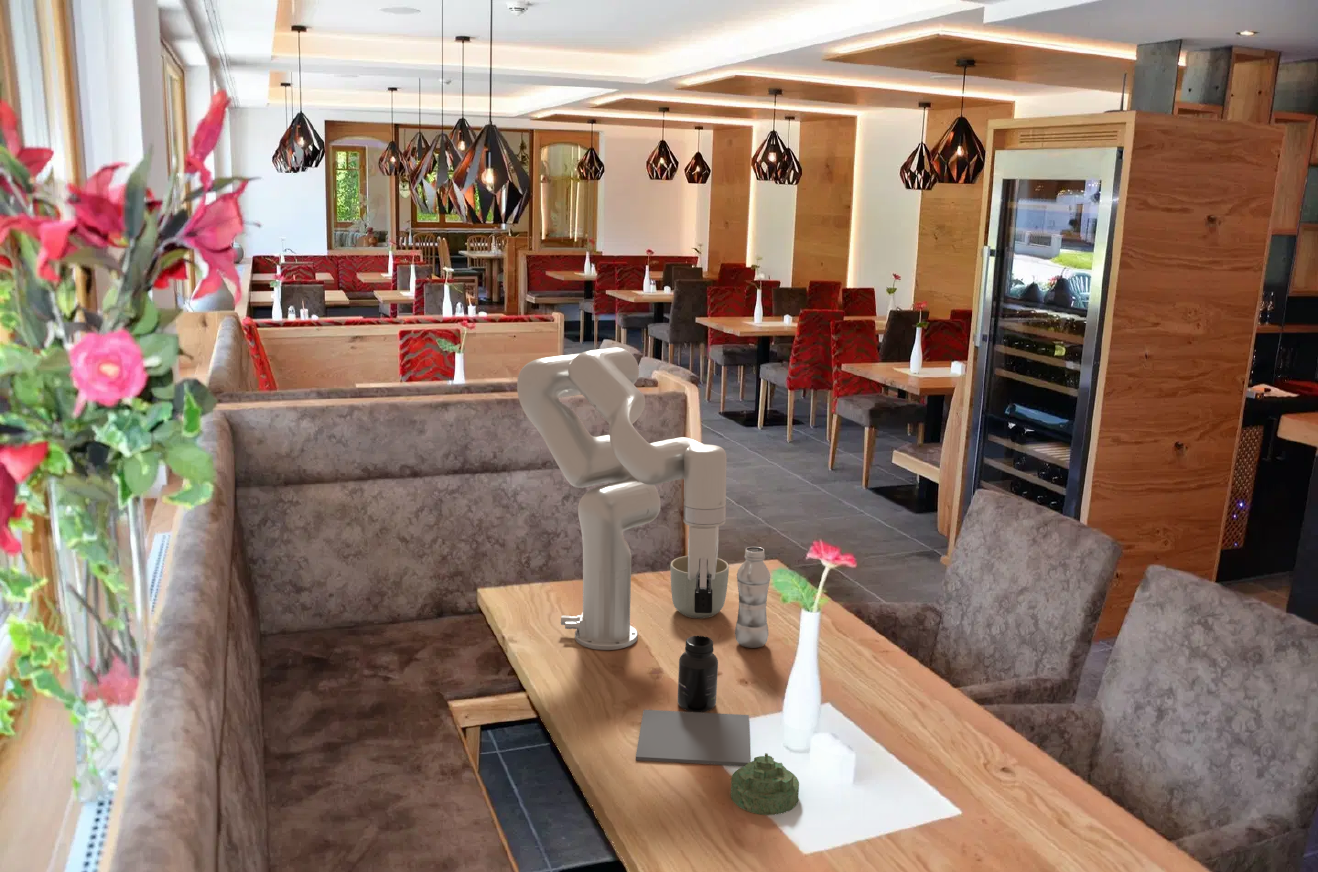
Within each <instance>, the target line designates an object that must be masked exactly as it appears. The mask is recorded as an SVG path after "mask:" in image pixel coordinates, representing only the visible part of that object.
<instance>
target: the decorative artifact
mask: <svg viewBox="0 0 1318 872" xmlns="http://www.w3.org/2000/svg"><path fill="white" fill-rule="evenodd" d="M774 759H775V758H774V757H773V756H771V755H769V753H768V752H765V753H764V755H759V756H756V757H754V758H753V760H752V761H750V762H749V763H748V764H746V765H745V766H740V767H739V768H737V769H736V770H735V771H734V772H733V773H732V775H731V778H730V779H731V782H730V798H731V800H732V802H733V803H734V804H735V805H736V806H737V807H739V808H740V809H743V810H744V811H747V812H749V813H753V814H756V815H763V816H764V815H765V816H775V814H776V815H780V814H781V813H782V814H785V813H787V812H786V811H788V812H790V811H791V810H793V809H794V808H795V807H796V806H797V804H798V803H799V791H800V782H799V779H798V777H797V776H796V775H795V774H794V773H793V772H792V771H790V770H788V769H787V768H786V767H785V766H784V765H783V763H782V762H777V761H775V760H774ZM797 802H798V803H797ZM784 812H785V813H784Z"/></svg>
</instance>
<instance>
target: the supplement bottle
mask: <svg viewBox="0 0 1318 872" xmlns="http://www.w3.org/2000/svg"><path fill="white" fill-rule="evenodd" d="M714 650H715V649H714V640H713V639H712V638H711V637H709V636H706V635H705V636H704V635H692V636H688V637H687V638H686V640H685V647H684V652H683V653H682V654H681V655H680V657H679V661H678V674H677V675H678V679H677V680H678V681H677V704H678V706H679V707H680V708H682V709H683V710H684V711H686V712H701V713H707V712H709V711H711V710H713V709H714V708H715V707H716V704H717V696H718V695H717V693H718V691H717V690H718V676H719V675H718V672H719V660H718V658H717V656H716V655H715V653H714Z"/></svg>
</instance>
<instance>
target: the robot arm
mask: <svg viewBox="0 0 1318 872" xmlns="http://www.w3.org/2000/svg"><path fill="white" fill-rule="evenodd" d="M639 375H640V368H639V364H638V360H637V359H636V357H635V356H634V355H633V354H632V353H631V352H630V351H628V350H627V349H626V348H622V347H608V348H599V349H591V350H586V351H583V352H579V353H571V354H565V355H555V356H545V357H540V358H537V359H534V360H531V361H529V362H527V363H526V364H525V365H524V366H523V367H522V368H521V369H520V371H519V373H518V376H517V383H516V389H517V390H516V391H517V398H518V401H519V404H520V406H521V409H522V411H523V413H524V414H525V415H526V418H527V419H528V421H530V423H531V424H532V425H533V426H534V428H535V429H536V430H537V432H538V433H539V434H540V436H541V438H542V439H543V441H544V443H545V444H546V447H547V448H548V450H549V452H550V453H551V456H552V458H553V459H554V461H555V462H556V464H557V466H558V468H559V470H560V471H561V474H562V475H563V476H564V478H565V480H566V481H567V482H568V483H569V484H570V485H571V486H572V487H574V488H578V489H579V488H581V489H582V488H588V487H589V488H590V487H592V486H597V487H594V488H592V489H590V490H587V492H585V493H584V494H583V495H582V496H581V498H580V499H579V502H578V506H577V514H578V520H579V525H580V532H581V538H582V612H581V614H577V615H576V616H571V615H563V614H562V615H561V617H560V625H561V626H564V629H565V630H575V631H574V639H575V641H576V643H577V644H579V645H580V646H582V647H585V648H588V649H592V650H598V651H615V650H620V649H624V648H628V647H630V646H632V645H633V644H635V643H636V642H637V641H638V634H639V633H638V630H637V629H636V628H635V627H634V626H633V625H631V599H632V597H631V595H632V593H631V592H632V591H631V588H632V585H631V584H632V582H631V581H632V554H631V553H632V552H631V548H630V546H629V544H628V542H627V540H626V538H625V536H624V532H625V531H627V530H629V529H633V528H636V527H641V526H643V525H646V524H649V523H651V522H653V521H655V520H656V518H658V516H659V515H660V514H659V513H660V511H661V504H662V503H661V498H660V497H661V496H660V493H659V491H658V488H657V487H656V486H658V485H662V484H665V483H670V482H673V481H679V480H683V524H685V526H686V525H687V526H688V537H687V538H688V539H687V540H688V541H687V542H688V544H687V556H688V579H689V580H691V579H695V576H696V589H695V607H694V611H695V613H712V591H713V589H711V581H712V580H714V579H715V573H716V565H717V558H718V556H719V555H718V554H719V553H718V552H719V534H720V533H719V529H720V528H719V527H723V526H724V525H725V524H726V520H727V519H726V517H727V516H726V512H727V509H726V507H727V503H726V502H727V452H726V450H725V449H724V448H723V447H721V446H719V445H715V444H705V443H702V442H700V441H698V440H696V439H693V438H691V437H686V436H681V437H676V438H675V437H674V438H668V439H664V440H660V441H654V442H650V443H649V442H648V441H647V440H646V439H645V438H644V437H643V436H642V435H641V434H640V433H639V431H637V429H636V428H635V427H634V423H635V422H636V421H638V419H639V418H640V417H641V415H642V414H643V412H644V410H645V407H646V397H645V395H644V393H643V392H641V390H639V388H638V387H636V385H635V384H636V383H637V381H638V379H639ZM575 396H582V397H584V399H585V400H586V401H587V402H588V403H589V404H590V405H591V406H592V407H593V408H594V409H595V410H596V411H597V413H599V414H600V416H601V417H602V418H603V419H604V420H605V421H606V422H607V423H608V425H609V426H608V427H609V430H608V431H609V432H608V433H609V434H605V435H599V436H594V435H592V434H591V433H590V432H589V431H588V430H587V428H586V426H585V424H584V423H583V421H582V419H581V418H580V416H579V415H578V414H577V413H576V412H575V411H574V410H573V409H572V408H570V407H569V406H567V405H566V404H564V403H563V402H561V400H560V399H561V398H569V397H575ZM605 483H606V484H605ZM607 483H608V484H607ZM598 485H599V486H598Z"/></svg>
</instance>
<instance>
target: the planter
mask: <svg viewBox="0 0 1318 872" xmlns="http://www.w3.org/2000/svg"><path fill="white" fill-rule="evenodd" d="M729 574H730V566H729V563H728V562H727V561H726V560H723V559H722V558H720V557H717V565H716V573H715V579H714V580H712V581H711V589H713V591H712V613H695V611H694V607H695V589H696V576H695V579H691V580H689V579H688V555H684V556H680V557H677V558H674V559H673V560H672V561H671V562H670V589H671V590H670V591H671V599H672V604H673V607H674V608H675V610H677V611H678V612H679V613H680V614H681V615H683V616H685V617H687V618H692V619H707V618H711V617H714V616H715V615H717V614H718V613H720V612H721V611H722V609H723V607H724V605H725V602H726V597H727V592H728V582H729Z"/></svg>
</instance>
